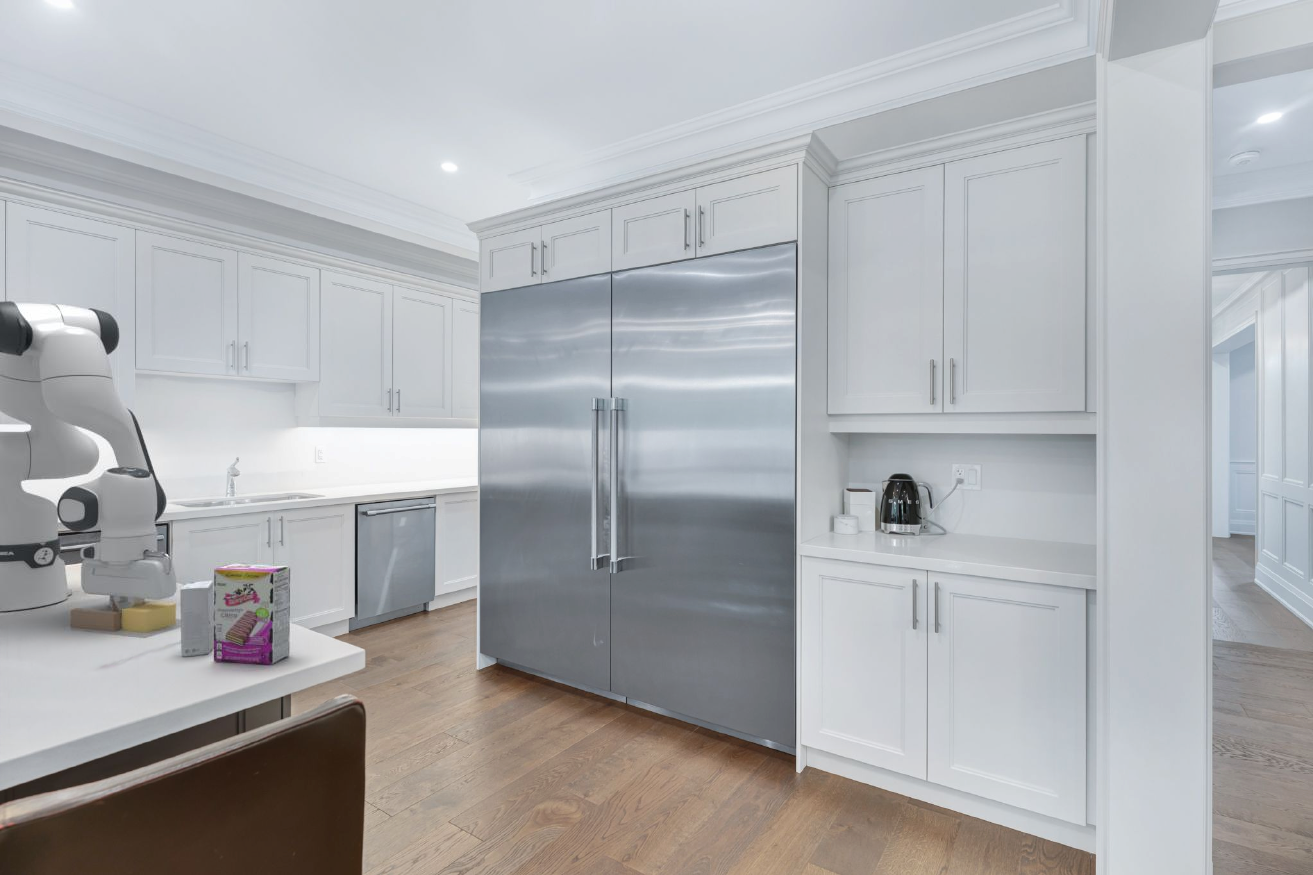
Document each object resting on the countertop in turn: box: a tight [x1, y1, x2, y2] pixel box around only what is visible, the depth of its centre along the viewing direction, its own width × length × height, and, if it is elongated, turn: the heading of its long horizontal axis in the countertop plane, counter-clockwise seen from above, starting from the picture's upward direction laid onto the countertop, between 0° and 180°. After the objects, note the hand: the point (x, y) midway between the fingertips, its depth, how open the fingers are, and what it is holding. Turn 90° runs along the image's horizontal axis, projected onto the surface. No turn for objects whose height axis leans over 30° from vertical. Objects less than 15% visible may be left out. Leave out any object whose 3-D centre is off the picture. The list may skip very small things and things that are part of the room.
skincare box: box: [179, 580, 214, 657], centre depth 118 cm, size 6×4×12 cm
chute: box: [65, 599, 181, 639], centre depth 130 cm, size 20×11×4 cm, turn 76°
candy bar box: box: [213, 563, 291, 665], centre depth 114 cm, size 11×5×16 cm, turn 84°
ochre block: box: [122, 601, 177, 633], centre depth 129 cm, size 6×6×4 cm
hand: (129, 618), depth 130 cm, fingers closed
